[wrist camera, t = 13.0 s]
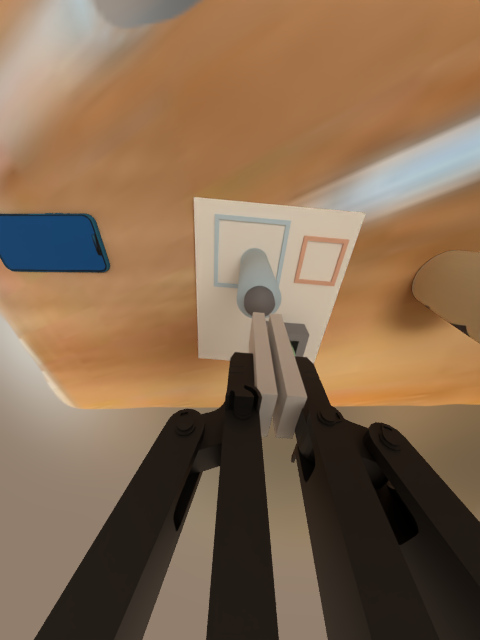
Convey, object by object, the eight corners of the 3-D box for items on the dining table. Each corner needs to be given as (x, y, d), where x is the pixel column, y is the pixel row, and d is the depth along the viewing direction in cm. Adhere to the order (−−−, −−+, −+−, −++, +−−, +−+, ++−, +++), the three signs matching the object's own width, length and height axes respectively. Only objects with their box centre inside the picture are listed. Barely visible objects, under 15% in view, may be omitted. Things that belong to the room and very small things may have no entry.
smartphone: (-26, 213, 25) (89, 213, 25) (-17, 213, 26) (94, 212, 26) (8, 271, 29) (109, 272, 28) (14, 269, 30) (113, 270, 29)
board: (195, 197, 24) (187, 196, 21) (361, 212, 24) (380, 214, 21) (199, 354, 36) (194, 370, 33) (311, 363, 36) (317, 380, 33)
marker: (241, 247, 26) (237, 280, 15) (269, 249, 26) (286, 283, 15) (239, 274, 28) (235, 322, 17) (266, 276, 28) (279, 325, 17)
